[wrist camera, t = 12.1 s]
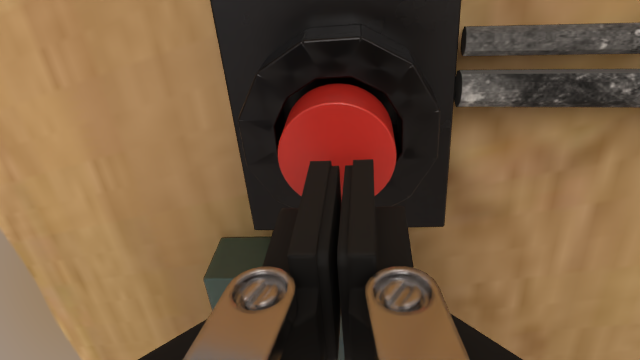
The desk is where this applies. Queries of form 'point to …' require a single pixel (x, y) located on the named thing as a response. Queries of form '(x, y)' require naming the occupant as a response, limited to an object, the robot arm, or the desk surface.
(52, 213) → the desk surface
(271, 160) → the switch box
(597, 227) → the desk surface
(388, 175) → the stop button
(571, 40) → the valve
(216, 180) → the desk surface
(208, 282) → the block
